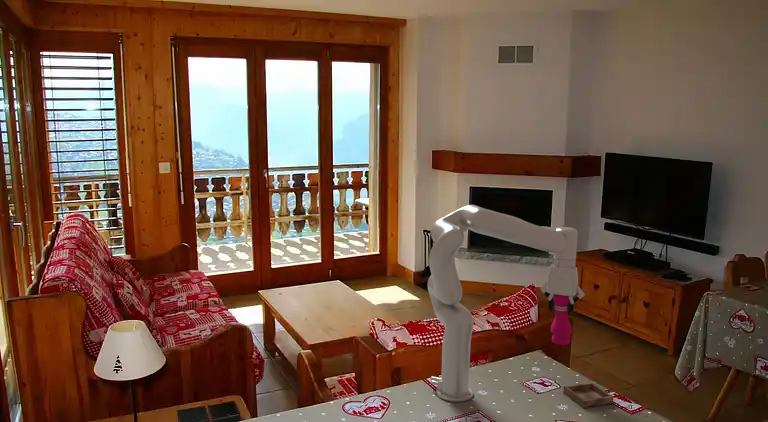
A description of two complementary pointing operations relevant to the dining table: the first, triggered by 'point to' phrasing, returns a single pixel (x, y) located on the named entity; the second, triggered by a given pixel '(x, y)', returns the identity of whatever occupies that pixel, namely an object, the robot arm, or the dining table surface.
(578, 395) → the walnut tray
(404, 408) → the dining table surface
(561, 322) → the magenta pepper mill
